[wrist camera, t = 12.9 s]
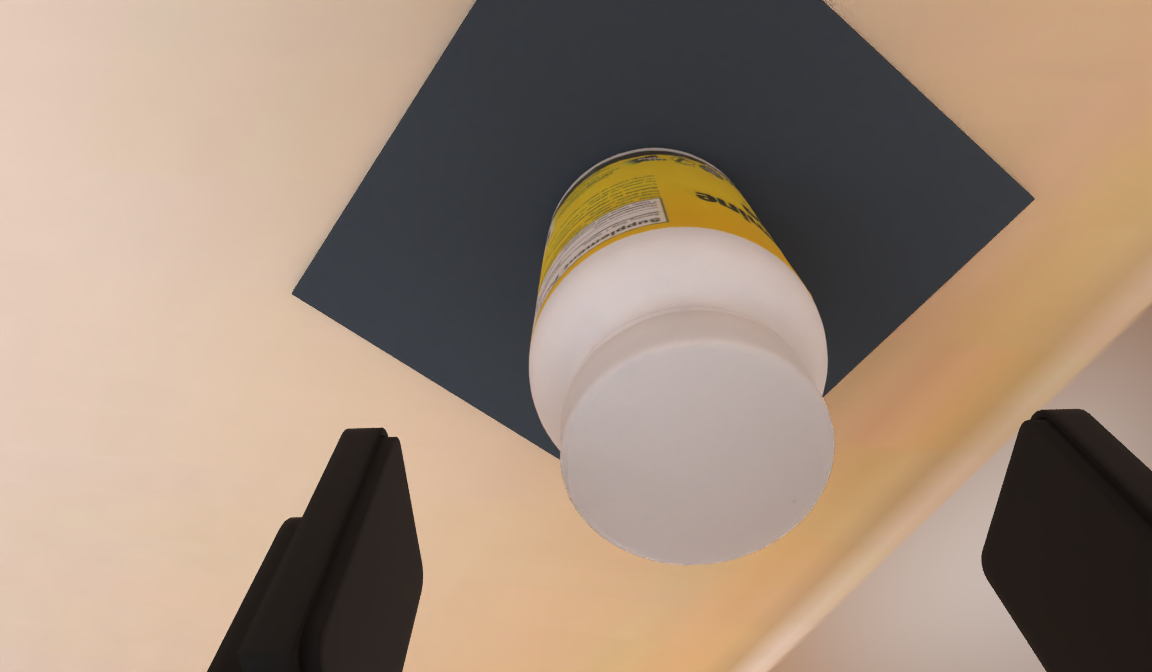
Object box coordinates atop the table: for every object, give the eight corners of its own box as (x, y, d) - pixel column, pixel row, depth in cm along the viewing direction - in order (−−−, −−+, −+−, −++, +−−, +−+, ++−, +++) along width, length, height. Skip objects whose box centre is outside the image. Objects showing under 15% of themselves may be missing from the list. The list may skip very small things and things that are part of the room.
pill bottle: (784, 276, 23) (938, 516, 13) (611, 366, 24) (630, 643, 14) (692, 98, 20) (793, 224, 10) (506, 210, 22) (441, 414, 12)
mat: (604, -202, 17) (605, -203, 17) (1031, 197, 22) (1035, 199, 22) (293, 291, 23) (290, 293, 23) (677, 529, 28) (678, 533, 27)
